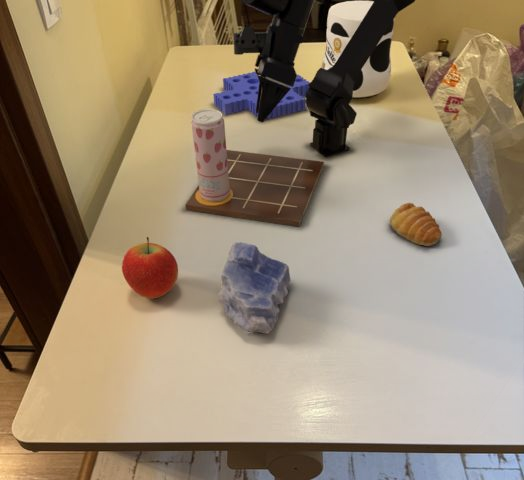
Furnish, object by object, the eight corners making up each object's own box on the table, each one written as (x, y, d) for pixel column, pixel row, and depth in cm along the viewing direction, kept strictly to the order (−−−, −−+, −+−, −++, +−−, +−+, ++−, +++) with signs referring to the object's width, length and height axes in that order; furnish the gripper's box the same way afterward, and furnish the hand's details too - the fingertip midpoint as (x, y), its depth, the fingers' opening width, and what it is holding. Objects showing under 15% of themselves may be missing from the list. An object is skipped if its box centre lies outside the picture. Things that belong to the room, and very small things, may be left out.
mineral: (224, 230, 78) (290, 232, 76) (234, 274, 85) (294, 277, 84) (201, 302, 70) (274, 307, 68) (214, 344, 77) (280, 349, 75)
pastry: (449, 240, 90) (454, 221, 87) (420, 253, 88) (424, 235, 85) (412, 214, 95) (416, 196, 92) (383, 226, 93) (387, 208, 90)
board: (223, 154, 112) (223, 148, 111) (323, 166, 108) (324, 160, 106) (186, 210, 98) (185, 203, 97) (299, 227, 94) (299, 220, 92)
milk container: (305, 89, 134) (308, 8, 121) (355, 72, 141) (363, -6, 127) (351, 112, 125) (359, 27, 111) (402, 93, 131) (416, 11, 118)
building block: (223, 126, 121) (222, 115, 119) (206, 86, 137) (205, 76, 135) (325, 113, 124) (326, 102, 123) (297, 75, 140) (297, 65, 138)
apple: (119, 294, 82) (103, 243, 75) (157, 269, 86) (145, 217, 79) (153, 317, 79) (140, 265, 71) (191, 289, 83) (182, 237, 75)
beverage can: (196, 201, 97) (186, 121, 86) (204, 185, 101) (195, 107, 90) (225, 203, 96) (218, 124, 85) (233, 187, 100) (227, 109, 89)
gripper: (243, 6, 95) (218, 95, 102) (245, 3, 79) (215, 109, 87) (299, 29, 97) (271, 115, 105) (312, 32, 81) (277, 132, 89)
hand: (259, 117), depth 96 cm, fingers open, 9 cm apart
